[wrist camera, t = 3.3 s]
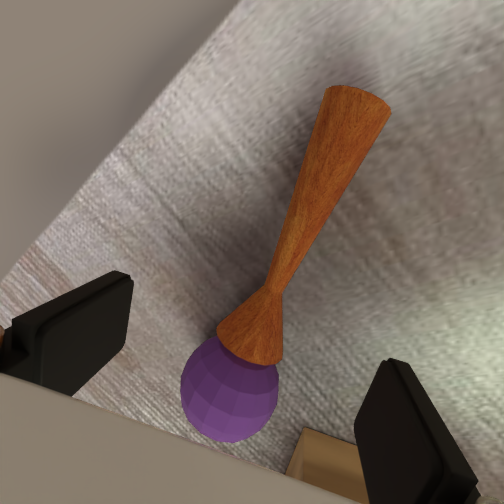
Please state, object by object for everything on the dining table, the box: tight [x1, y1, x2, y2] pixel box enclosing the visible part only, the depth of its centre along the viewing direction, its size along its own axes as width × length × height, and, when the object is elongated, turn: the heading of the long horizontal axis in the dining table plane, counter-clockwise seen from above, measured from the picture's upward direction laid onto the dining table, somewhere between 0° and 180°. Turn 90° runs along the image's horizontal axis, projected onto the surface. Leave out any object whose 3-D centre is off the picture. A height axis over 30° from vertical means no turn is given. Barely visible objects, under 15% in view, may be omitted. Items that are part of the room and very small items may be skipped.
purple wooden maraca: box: [180, 85, 391, 443], centre depth 16 cm, size 6×6×20 cm
